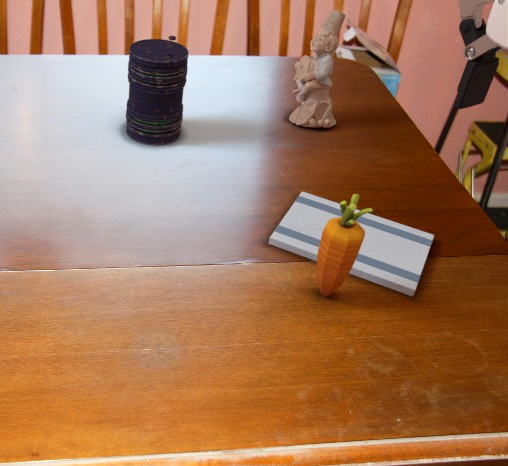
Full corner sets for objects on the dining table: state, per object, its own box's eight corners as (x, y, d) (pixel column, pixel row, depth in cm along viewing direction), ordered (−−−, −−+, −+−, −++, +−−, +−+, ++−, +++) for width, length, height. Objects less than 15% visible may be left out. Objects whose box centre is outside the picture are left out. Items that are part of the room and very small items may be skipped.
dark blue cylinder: (113, 128, 115) (116, 27, 104) (155, 113, 121) (162, 16, 110) (150, 151, 109) (158, 47, 99) (192, 135, 115) (204, 35, 104)
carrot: (322, 277, 86) (350, 182, 77) (352, 298, 83) (385, 201, 74) (297, 292, 84) (323, 195, 75) (328, 314, 81) (358, 216, 72)
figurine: (321, 109, 127) (345, 5, 115) (341, 130, 120) (369, 22, 108) (278, 112, 125) (299, 6, 112) (297, 133, 118) (321, 24, 106)
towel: (431, 241, 94) (434, 234, 94) (412, 297, 84) (415, 289, 84) (300, 197, 101) (302, 190, 101) (268, 244, 91) (269, 236, 91)
